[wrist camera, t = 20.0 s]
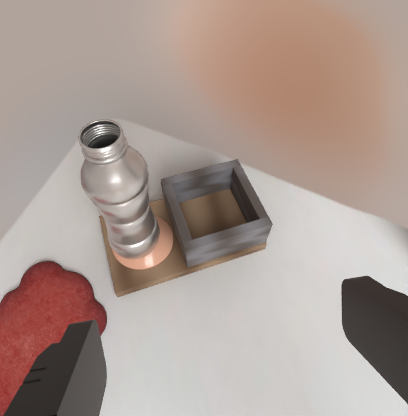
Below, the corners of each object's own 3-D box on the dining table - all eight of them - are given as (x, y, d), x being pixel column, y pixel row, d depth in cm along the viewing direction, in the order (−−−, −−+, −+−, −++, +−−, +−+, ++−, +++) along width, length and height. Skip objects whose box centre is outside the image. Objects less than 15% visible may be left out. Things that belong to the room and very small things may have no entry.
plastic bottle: (103, 241, 44) (44, 132, 27) (143, 213, 46) (113, 98, 30) (130, 274, 41) (84, 177, 24) (172, 243, 44) (155, 135, 27)
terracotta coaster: (164, 208, 47) (163, 207, 47) (181, 258, 43) (180, 257, 43) (106, 224, 46) (106, 223, 45) (118, 278, 41) (118, 277, 41)
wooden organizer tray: (232, 184, 52) (236, 157, 46) (264, 248, 46) (273, 226, 40) (101, 221, 48) (89, 196, 42) (117, 297, 42) (105, 279, 36)
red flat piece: (51, 252, 45) (45, 245, 44) (124, 309, 41) (121, 304, 40) (-67, 364, 37) (-79, 361, 36) (10, 448, 33) (0, 450, 32)
